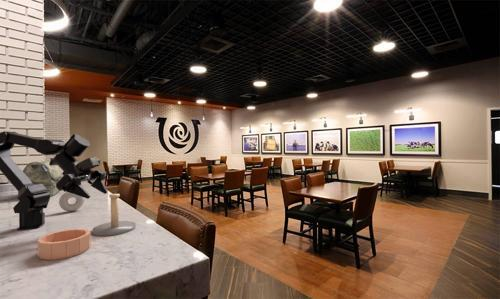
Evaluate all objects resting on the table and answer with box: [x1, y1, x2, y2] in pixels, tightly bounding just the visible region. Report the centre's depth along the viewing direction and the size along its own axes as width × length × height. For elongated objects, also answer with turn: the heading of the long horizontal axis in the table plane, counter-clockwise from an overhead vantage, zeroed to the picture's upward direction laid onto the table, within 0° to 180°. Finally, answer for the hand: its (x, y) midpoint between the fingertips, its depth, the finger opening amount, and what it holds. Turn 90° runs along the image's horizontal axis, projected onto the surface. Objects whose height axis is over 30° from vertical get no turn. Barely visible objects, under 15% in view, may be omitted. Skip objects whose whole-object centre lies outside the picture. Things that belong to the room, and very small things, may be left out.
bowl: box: [37, 228, 92, 261], centre depth 73 cm, size 12×12×4 cm
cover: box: [91, 193, 137, 237], centre depth 92 cm, size 14×14×13 cm
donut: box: [58, 192, 86, 212], centre depth 119 cm, size 10×4×10 cm, turn 134°
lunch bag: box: [22, 160, 63, 197], centre depth 160 cm, size 26×18×22 cm
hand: (98, 195), depth 93 cm, fingers open, 9 cm apart
